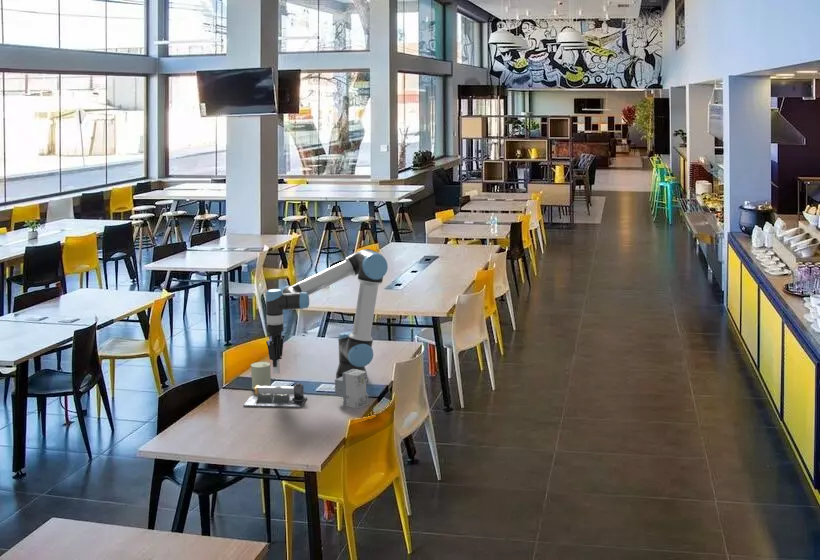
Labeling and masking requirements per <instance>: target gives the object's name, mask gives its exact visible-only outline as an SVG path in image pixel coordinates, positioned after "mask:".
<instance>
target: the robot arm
mask: <svg viewBox="0 0 820 560" xmlns="http://www.w3.org/2000/svg"><path fill="white" fill-rule="evenodd" d="M388 265H389V264H388V261H387V259H386V258H385V256H383V255H382V254H381V253H379V252H377V251H375V250H373V249H371V248H365V249H360V250H358V251H356V252H354V253H352V254H350V255H349V256H345V258H344V260H343V261H341V262H339V263H337V264H334V265H332V266H331V267H328V268H326V269H324V270H322V271H320V272H318V273H316V274H314V275H312V276H309V277H308V278H305V279H304V280H301V281H299V282H297V283H295V284H292V285H286V286H284V287H283V288H282V289H280V288H272V289H271V288H270V289H268V290H267V291H266V292H265V307H266V308H265V309H266V310H265V313H266V316H265V318H266V332H267V333H269V336H268V340H266V341H265V343H266V345H267V351H268V352H267V353H268V357H269V360H271V361H272V374H276V375H279V374H281V369H280V366H281V364H280V360H282V358H283V350H284V341H285V335H284V334H283V332H284V311H287V310H289V311H290V310H304V309H308V308H309V306H310V295H313V294H314V293H316V292H319V291H320V290H321V291H322V290H323V289H325V288H327V287H329V286H332V285H333V284H335V283H337V282H341V280H345V278H349V277H350V276H354V277H355V276H357V280H358V281H359V290H358V295H357V300H356V308H355V313H354V321H353V325H352V326H353V327H352V331H344V332H340V333H339V334H338V339H337V341H338V362H339V363H338V366H337V370H336V373H335V379H338V378H340V377H343V374H342V373H344V372H346V371H349V370H351V369H357V370H362V371H367V369H366V367H367V366H368V365H369V364H370V363H371V362H372V361H373V359H374V350H373V343H374V342H373V341H374V337H372V335H371V334H372V329H373V328H372V327H373V322H374V316H375V315H374V314H375V310H376V309H375V308H376V304H377V303H376V301H377V295H378V291H379V290H378V289H379V286H380V285H381V284H383V280H384V279H383V278H384V276H386V274H387V272H388V269H389V268H388ZM351 372H352V371H351ZM365 379H366V377H365Z"/></svg>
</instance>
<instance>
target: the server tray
mask: <svg viewBox="0 0 820 560" xmlns="http://www.w3.org/2000/svg"><path fill="white" fill-rule="evenodd" d="M307 399H308V397H307V396H304V398H303V399H294V396H290V394H257V395H251V396H249V397H248V399H247V400H246V401H245V403H243V406H242V407H245V408H281V409H282V408H283V409H285V408H286V409H289V408H290V409H301V408H302V407H303V405H304V403H305V402H306V400H307Z"/></svg>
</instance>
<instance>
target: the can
mask: <svg viewBox="0 0 820 560" xmlns="http://www.w3.org/2000/svg"><path fill="white" fill-rule="evenodd" d="M250 369H251V370H250V371H251V390H253V391H255V387H256V386H257V385H260V386H272V380H271V379H272V378H271V377H272V376H271V375H272V373H271V363H270V362H269V361H268V362H267V361H258V362H256V361H255V362H253V363H251V364H250Z"/></svg>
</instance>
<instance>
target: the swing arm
mask: <svg viewBox="0 0 820 560" xmlns="http://www.w3.org/2000/svg"><path fill="white" fill-rule="evenodd" d="M304 390H305V389H304V384H302V383H300V382H297V383H296V384H294V385H293V386H288V385H287V386H285V385H278V386H277V385H271V386H260V385H257V386H256V387H255V390H254V395H258V394H273V395H275V394H289V396H292V395H293V397H294V399H303V398H304V397H305V395H304V394H305V393H304Z"/></svg>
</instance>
